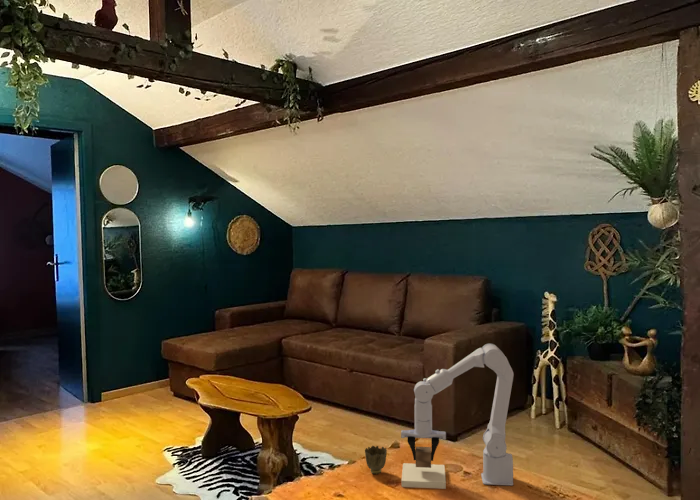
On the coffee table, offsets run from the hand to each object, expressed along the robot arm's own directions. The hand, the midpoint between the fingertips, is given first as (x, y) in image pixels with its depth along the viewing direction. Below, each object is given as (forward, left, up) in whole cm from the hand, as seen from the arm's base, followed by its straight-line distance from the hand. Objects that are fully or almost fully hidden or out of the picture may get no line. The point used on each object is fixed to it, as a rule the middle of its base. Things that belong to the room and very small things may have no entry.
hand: (423, 459), depth 199 cm
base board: (0, 0, -6) cm, 6 cm away
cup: (+16, -3, -7) cm, 18 cm away
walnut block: (0, 0, -2) cm, 2 cm away
